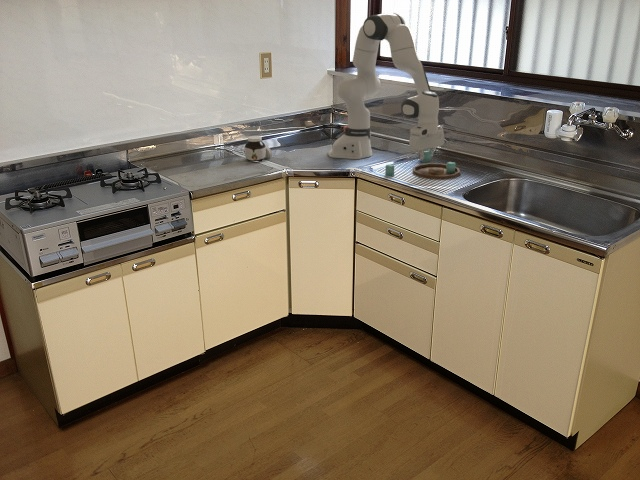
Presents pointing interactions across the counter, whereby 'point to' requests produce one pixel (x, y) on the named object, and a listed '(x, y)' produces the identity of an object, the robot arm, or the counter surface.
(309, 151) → the counter surface
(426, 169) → the ring tray
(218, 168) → the counter surface
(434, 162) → the pocket watch
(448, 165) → the bead
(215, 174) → the counter surface
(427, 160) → the bead
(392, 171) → the bead
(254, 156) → the spread jar
